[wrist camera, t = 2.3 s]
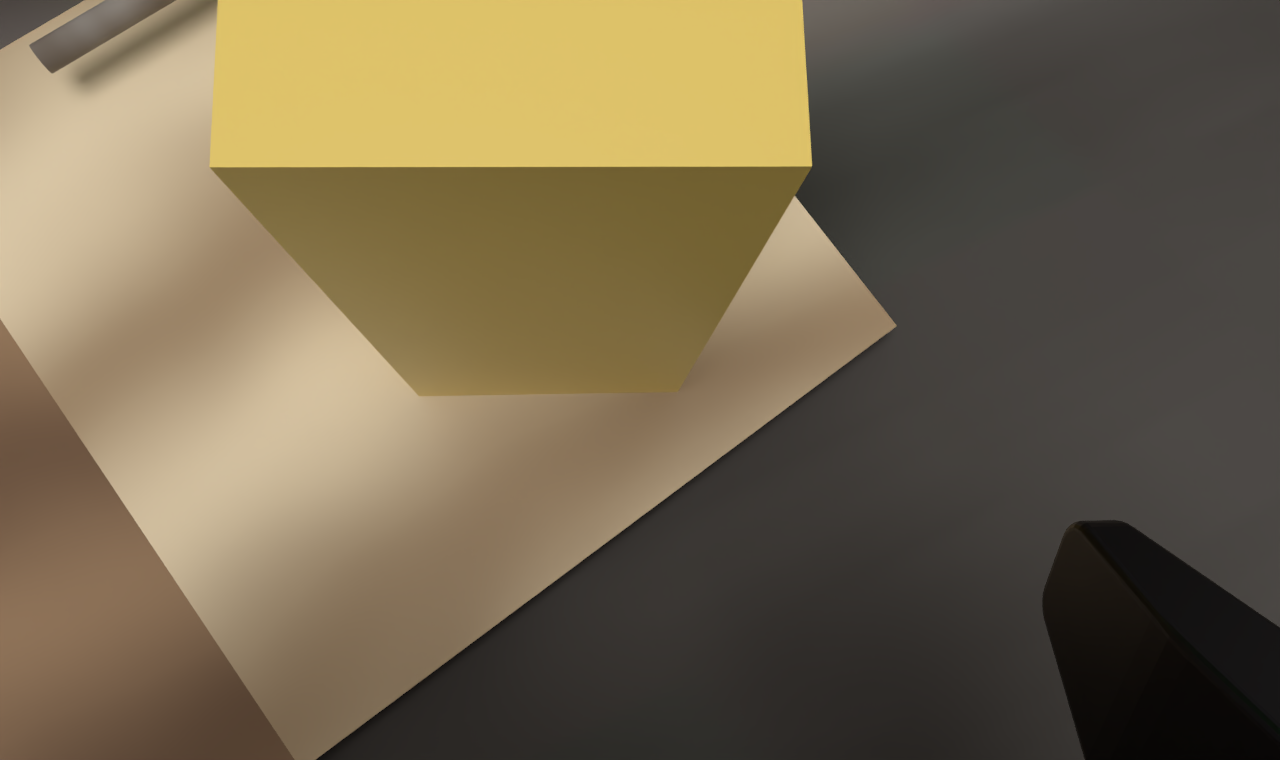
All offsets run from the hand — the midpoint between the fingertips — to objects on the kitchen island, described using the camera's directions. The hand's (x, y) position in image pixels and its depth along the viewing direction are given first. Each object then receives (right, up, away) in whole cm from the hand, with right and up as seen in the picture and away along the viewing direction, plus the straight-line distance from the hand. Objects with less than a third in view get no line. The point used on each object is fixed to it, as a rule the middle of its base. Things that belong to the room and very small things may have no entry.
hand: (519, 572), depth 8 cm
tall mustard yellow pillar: (-1, +4, +12) cm, 13 cm away
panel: (-7, +2, +12) cm, 14 cm away
